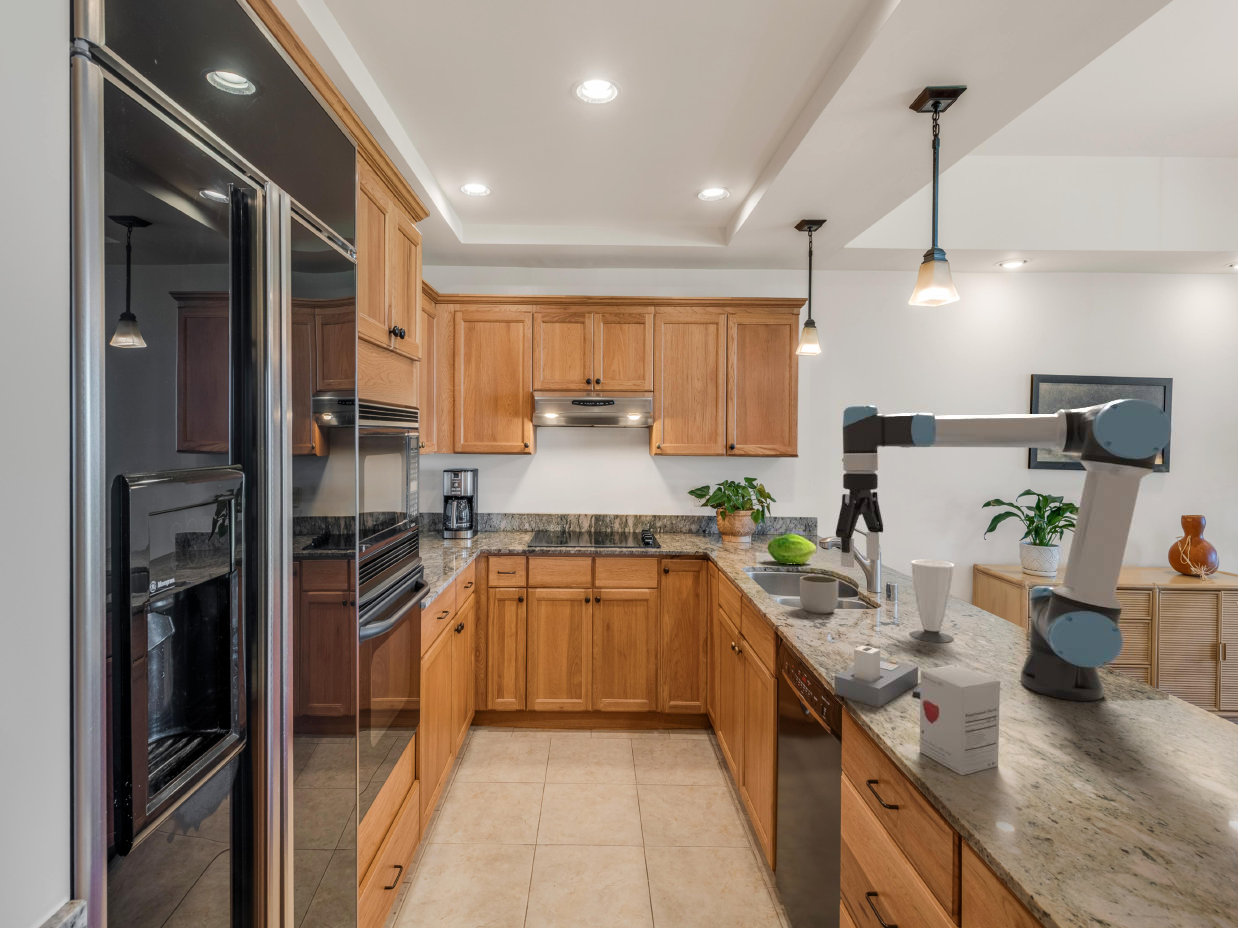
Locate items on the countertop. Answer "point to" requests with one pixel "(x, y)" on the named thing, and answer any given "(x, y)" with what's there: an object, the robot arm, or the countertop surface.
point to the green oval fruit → (791, 549)
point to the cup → (932, 597)
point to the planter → (818, 594)
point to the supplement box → (959, 718)
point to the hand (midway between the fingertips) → (860, 563)
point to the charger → (867, 663)
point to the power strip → (878, 683)
